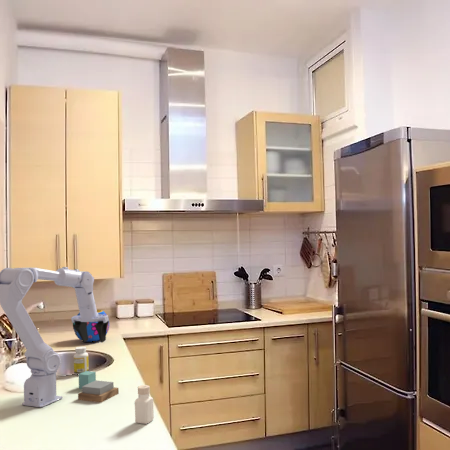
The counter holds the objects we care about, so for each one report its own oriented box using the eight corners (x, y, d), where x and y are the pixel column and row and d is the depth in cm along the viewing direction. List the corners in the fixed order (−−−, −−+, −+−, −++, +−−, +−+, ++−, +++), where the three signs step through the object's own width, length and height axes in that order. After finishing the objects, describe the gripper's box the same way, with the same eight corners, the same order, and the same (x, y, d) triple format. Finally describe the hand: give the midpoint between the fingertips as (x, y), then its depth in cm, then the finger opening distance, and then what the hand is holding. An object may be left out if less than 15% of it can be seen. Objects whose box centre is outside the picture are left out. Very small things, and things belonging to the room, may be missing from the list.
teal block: (88, 389, 164) (88, 375, 164) (78, 388, 166) (78, 374, 166) (95, 386, 168) (95, 371, 168) (86, 385, 169) (86, 371, 170)
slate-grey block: (100, 394, 152) (100, 388, 152) (82, 392, 155) (81, 386, 155) (113, 388, 159) (113, 382, 159) (95, 386, 161) (95, 380, 161)
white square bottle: (134, 423, 132) (133, 388, 133) (142, 418, 136) (141, 384, 136) (147, 425, 131) (146, 389, 131) (154, 419, 135) (153, 385, 135)
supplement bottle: (83, 370, 189) (82, 345, 189) (91, 372, 186) (91, 347, 186) (71, 374, 185) (70, 348, 185) (79, 376, 181) (78, 349, 182)
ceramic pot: (72, 339, 251) (72, 310, 251) (107, 336, 257) (107, 307, 257) (74, 346, 234) (73, 315, 235) (111, 342, 240) (111, 312, 241)
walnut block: (101, 404, 151) (101, 396, 151) (78, 401, 154) (78, 393, 154) (118, 395, 159) (118, 387, 159) (96, 392, 162) (95, 385, 162)
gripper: (110, 300, 170) (117, 336, 173) (77, 301, 176) (84, 336, 178) (98, 307, 164) (106, 345, 166) (64, 308, 169) (72, 344, 172)
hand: (94, 341), depth 172 cm, fingers open, 7 cm apart
